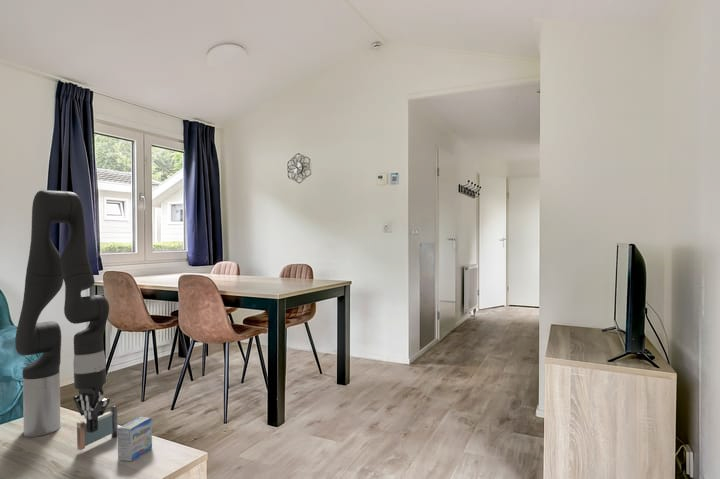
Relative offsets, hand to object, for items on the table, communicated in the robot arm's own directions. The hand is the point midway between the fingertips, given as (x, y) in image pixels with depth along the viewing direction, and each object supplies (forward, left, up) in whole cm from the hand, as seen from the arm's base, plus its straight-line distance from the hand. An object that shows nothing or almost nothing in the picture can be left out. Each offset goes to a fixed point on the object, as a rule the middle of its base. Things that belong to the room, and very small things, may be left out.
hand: (92, 431), depth 121 cm
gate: (-3, +2, -5) cm, 6 cm away
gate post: (-4, +8, -6) cm, 11 cm away
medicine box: (+11, +5, -6) cm, 14 cm away
